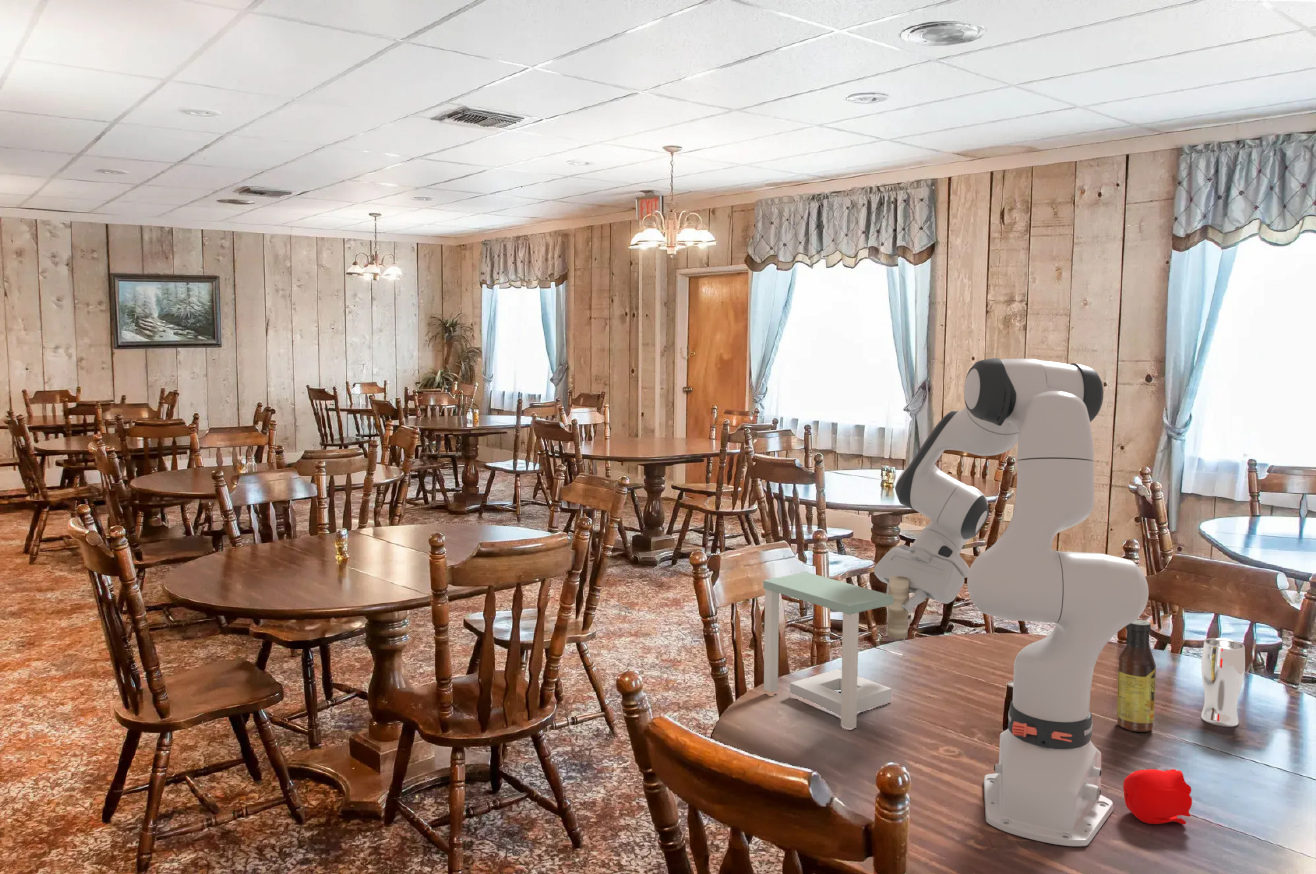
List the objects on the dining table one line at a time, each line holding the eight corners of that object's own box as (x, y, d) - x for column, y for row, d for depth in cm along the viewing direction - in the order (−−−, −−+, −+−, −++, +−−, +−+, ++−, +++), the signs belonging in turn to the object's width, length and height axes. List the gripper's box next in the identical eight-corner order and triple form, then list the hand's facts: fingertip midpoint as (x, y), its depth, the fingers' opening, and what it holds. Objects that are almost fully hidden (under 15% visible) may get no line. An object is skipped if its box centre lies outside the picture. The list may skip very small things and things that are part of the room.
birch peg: (907, 640, 189) (909, 582, 187) (886, 638, 190) (888, 580, 188) (907, 633, 193) (909, 577, 191) (887, 631, 194) (889, 575, 192)
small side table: (804, 682, 197) (806, 572, 194) (890, 716, 178) (893, 595, 176) (761, 694, 190) (763, 580, 187) (846, 732, 171) (849, 606, 169)
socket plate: (838, 682, 196) (838, 668, 196) (890, 703, 185) (891, 688, 185) (790, 697, 188) (790, 682, 188) (841, 719, 177) (842, 704, 176)
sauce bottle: (1158, 735, 170) (1164, 628, 168) (1121, 732, 171) (1126, 626, 169) (1147, 721, 176) (1152, 618, 174) (1111, 718, 177) (1116, 616, 176)
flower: (1111, 769, 144) (1164, 768, 144) (1120, 823, 142) (1173, 823, 142) (1133, 769, 137) (1188, 769, 137) (1142, 826, 134) (1199, 826, 134)
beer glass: (1229, 714, 180) (1234, 638, 178) (1248, 728, 173) (1253, 649, 171) (1191, 712, 180) (1196, 637, 179) (1209, 727, 173) (1213, 648, 172)
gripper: (889, 534, 201) (853, 584, 198) (962, 554, 184) (924, 610, 180) (904, 552, 204) (869, 601, 201) (977, 574, 186) (940, 629, 183)
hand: (895, 606), depth 190 cm, fingers closed on birch peg, 4 cm apart
